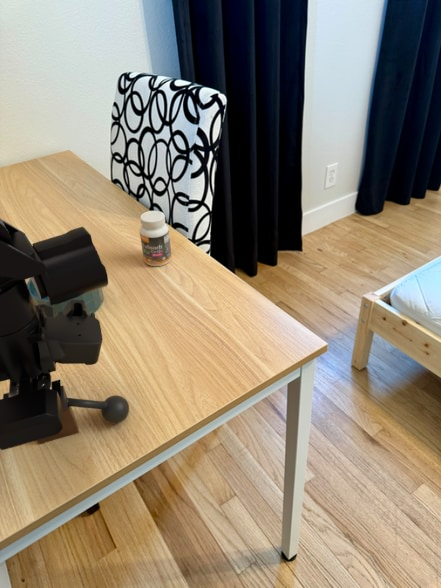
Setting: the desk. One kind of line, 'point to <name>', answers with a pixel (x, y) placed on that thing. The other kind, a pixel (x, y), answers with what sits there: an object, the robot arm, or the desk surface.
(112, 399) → the ladle
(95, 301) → the bowl
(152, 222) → the pill bottle
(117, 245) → the desk surface
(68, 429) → the chocolate brown square
